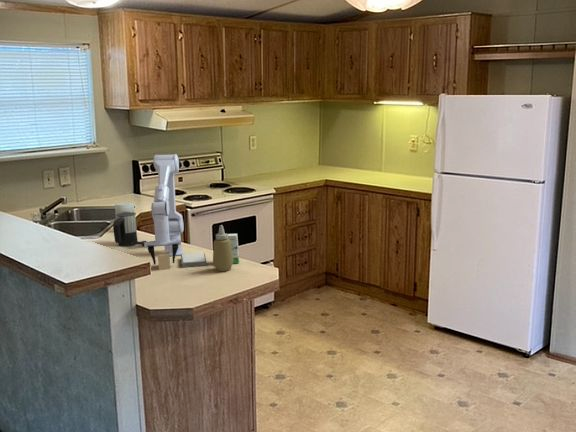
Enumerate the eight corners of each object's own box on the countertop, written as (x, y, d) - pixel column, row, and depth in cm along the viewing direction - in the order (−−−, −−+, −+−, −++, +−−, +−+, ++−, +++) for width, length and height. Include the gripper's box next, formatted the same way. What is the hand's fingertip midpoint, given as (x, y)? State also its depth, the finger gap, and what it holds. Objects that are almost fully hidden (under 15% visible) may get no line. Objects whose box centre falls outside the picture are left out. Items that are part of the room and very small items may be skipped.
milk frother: (121, 242, 302) (119, 211, 299) (154, 241, 301) (151, 211, 298) (112, 249, 288) (109, 217, 285) (146, 248, 287) (144, 217, 284)
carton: (158, 265, 259) (157, 251, 257) (170, 264, 259) (169, 250, 258) (158, 270, 252) (157, 255, 251) (170, 269, 253) (169, 254, 252)
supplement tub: (114, 231, 326) (111, 203, 323) (131, 228, 332) (129, 201, 329) (121, 234, 319) (118, 205, 316) (138, 231, 324) (136, 203, 321)
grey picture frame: (181, 258, 267) (180, 254, 267) (204, 257, 269) (204, 252, 269) (182, 267, 254) (181, 262, 254) (206, 265, 256) (206, 260, 255)
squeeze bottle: (209, 271, 247) (207, 227, 243) (218, 266, 254) (216, 222, 251) (228, 273, 244) (226, 228, 241) (237, 267, 252) (234, 223, 248)
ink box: (239, 260, 262) (237, 232, 260) (238, 263, 257) (237, 235, 255) (218, 261, 262) (216, 233, 259) (217, 264, 257) (215, 236, 255)
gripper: (143, 234, 247) (145, 267, 250) (180, 231, 250) (182, 264, 253) (143, 230, 254) (146, 262, 257) (179, 227, 257) (182, 259, 260)
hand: (164, 263), depth 255 cm, fingers open, 7 cm apart
